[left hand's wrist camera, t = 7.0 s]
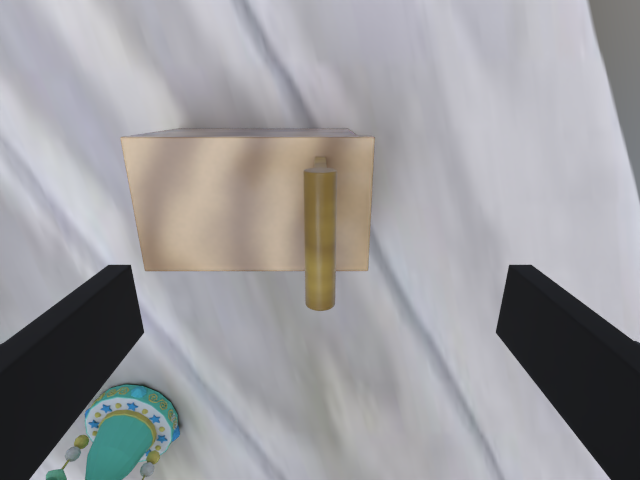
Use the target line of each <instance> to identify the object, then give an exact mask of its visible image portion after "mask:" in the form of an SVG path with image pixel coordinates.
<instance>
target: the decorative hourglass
mask: <svg viewBox="0 0 640 480" xmlns="http://www.w3.org/2000/svg"><path fill="white" fill-rule="evenodd" d="M85 418H86V419H85V425H86V433H87V435H88V436H89V438H90V439H91V441H92V442H93V444H92V446H91V449H90V451H89V453H88V457H87V466H86V477H85V480H122V479H123V478H125V477H126V476H127V475H128V474H129V473H130V472H131V471H132V470H133V468H134V467H135V466H136V464H137V463H138V462H142V461H146V460H147V462H148V463H145V464H143V466H142V467H141V470H140V473H141V475H142V476H143V479H144V477H149V476H150V475H151V474H152V473H153V471H154V465H153V464H155V463H157V462H158V460H159V458H160V455H161V454H163V453H164V452H166V450H167V449H168V447H169V445H170V443H171V441H174V440H175V439H176V438H178V437H179V435H180V431H179V426H178V414H177V413H176V411H175V409H174V407H173V405H172V404H171V402H170V401H168V400H167V399H166V398H165V397H164V396H162V395H161V394H160V393H159V392H157V391H154V390H152V389H149V388H147V387H144V386H138V385H126V384H125V385H121V386H117V387H113V388H110V389H109V390H107V391H106V392H105V393H103V394H102V395H101V396H99V398H98V399H96V400H95V402H94V403H93V404H92V406H91V408H89V409H88V410H86V413H85ZM88 442H89V439H88V437H87V436H86V435H80V436H79V437H77V438H76V440H75V442H74V446H75V447H71V448H70V449H69V450H67V452H66V455H65V457H66V460H67V462H66V463H65V465H64V466H63V467H62V469H58V470H52V471H49V472H48V473H47V475H46V480H67V478H66V476H65V473H64V471H63V469H64V468H65V466H66V465H67V463H68V462H69V461H70V462H72V461H75V460H76V459H77V458H78V457H79V456H80V454H81V451H80V449H83V448H84V447H86V446H87V445H88ZM143 479H142V480H143Z"/></svg>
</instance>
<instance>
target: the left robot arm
mask: <svg viewBox="0 0 640 480" xmlns="http://www.w3.org/2000/svg"><path fill="white" fill-rule="evenodd" d="M143 333H144V329H143V324H142V319H141V314H140V309H139V304H138V299H137V294H136V289H135V284H134V279H133V274H132V269H131V265H108V266H107V267H105V268H104V269H102V270H101V271H100V272H98V273H97V274H96V275H94V276H93V277H92V278H90V279H89V280H88V281H86V282H85V283H84V284H82V285H81V286H80V287H78V288H77V289H76V290H74V291H73V292H72V293H70V294H69V295H68V296H66V297H65V298H64V299H62V300H61V301H59V302H58V303H57V304H55V305H54V306H53V307H51V308H50V309H49V310H47V311H46V312H45V313H43V314H42V315H41V316H39V317H38V318H37V319H35V320H34V321H33V322H31V323H30V324H29V325H27V326H26V327H25V328H23V329H22V330H20V331H19V332H18V333H16V334H15V335H14V336H12V337H11V338H10V339H8V340H7V341H6V342H4V343H2V344H0V480H29V479H30V478H31V477H32V475H33V474H34V473H35V471H36V470H37V469H38V468H39V466H40V465H41V464H42V462H43V461H44V460H45V459H46V457H47V456H48V455H49V454H50V452H51V451H52V450H53V448H54V447H55V446H56V445H57V443H58V442H59V441H60V439H61V438H62V437H63V436H64V434H65V433H66V432H67V430H68V429H69V428H70V427H71V425H72V424H73V423H74V422H75V420H76V419H77V418H78V416H79V415H80V414H81V413H82V411H83V410H84V409H85V407H86V406H87V405H88V404H89V402H90V401H91V400H92V399H93V397H94V396H95V395H96V393H97V392H98V391H99V390H100V388H101V387H102V386H103V384H104V383H105V382H106V381H107V379H108V378H109V377H110V376H111V374H112V373H113V372H114V370H115V369H116V368H117V367H118V365H119V364H120V363H121V361H122V360H123V359H124V358H125V356H126V355H127V354H128V353H129V351H130V350H131V349H132V347H133V346H134V345H135V344H136V342H137V341H138V340H139V338H140V337H141V336H142V335H143ZM496 333H497V335H498V336H499V337H500V338H501V340H502V341H503V342H504V344H505V345H506V346H507V347H508V349H509V350H510V351H511V353H512V354H513V355H514V356H515V358H516V359H517V360H518V361H519V363H520V364H521V365H522V367H523V368H524V369H525V370H526V372H527V373H528V374H529V376H530V377H531V378H532V379H533V381H534V382H535V383H536V384H537V386H538V387H539V388H540V390H541V391H542V392H543V393H544V395H545V396H546V397H547V399H548V400H549V401H550V402H551V404H552V405H553V406H554V407H555V409H556V410H557V411H558V413H559V414H560V415H561V416H562V418H563V419H564V420H565V422H566V423H567V424H568V425H569V427H570V428H571V429H572V430H573V432H574V433H575V434H576V436H577V437H578V438H579V439H580V441H581V442H582V443H583V445H584V446H585V447H586V448H587V450H588V451H589V452H590V454H591V455H592V456H593V457H594V459H595V460H596V461H597V462H598V464H599V465H600V466H601V468H602V469H603V470H604V471H605V473H606V474H607V475H608V477H609V478H610V479H611V480H640V343H639V342H637V341H633V340H632V339H630V338H629V337H628V336H626V335H625V334H624V333H622V332H621V331H620V330H618V329H617V328H615V327H614V326H613V325H611V324H610V323H609V322H607V321H606V320H605V319H603V318H602V317H601V316H599V315H598V314H597V313H595V312H594V311H593V310H591V309H590V308H589V307H587V306H586V305H585V304H583V303H582V302H581V301H579V300H578V299H576V298H575V297H574V296H572V295H571V294H570V293H568V292H567V291H566V290H564V289H563V288H562V287H560V286H559V285H558V284H556V283H555V282H554V281H552V280H551V279H550V278H548V277H547V276H546V275H544V274H543V273H542V272H540V271H539V270H538V269H536V268H535V267H533V266H532V265H509V269H508V274H507V279H506V284H505V289H504V294H503V299H502V304H501V309H500V314H499V319H498V324H497V329H496Z"/></svg>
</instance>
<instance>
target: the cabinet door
mask: <svg viewBox="0 0 640 480" xmlns="http://www.w3.org/2000/svg"><path fill="white" fill-rule="evenodd" d="M120 139H121V144H122V150H123V155H124V160H125V166H126V171H127V177H128V182H129V187H130V193H131V198H132V203H133V209H134V214H135V220H136V225H137V230H138V236H139V241H140V247H141V252H142V257H143V263H144V268H145V271H305V298H306V305H307V307H308V308H310V309H312V310H316V311H324V310H328V309H331V308H332V307H333V306H334V305H335V277H336V271H368V261H369V242H370V222H371V202H372V182H373V163H374V143H375V138H374V137H373V136H125V137H121V138H120Z"/></svg>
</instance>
